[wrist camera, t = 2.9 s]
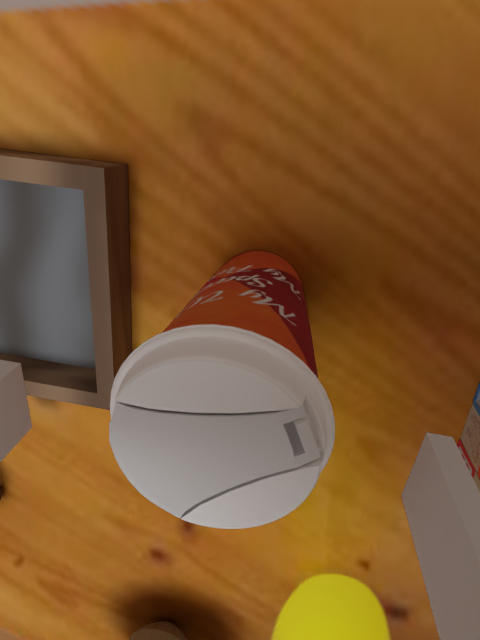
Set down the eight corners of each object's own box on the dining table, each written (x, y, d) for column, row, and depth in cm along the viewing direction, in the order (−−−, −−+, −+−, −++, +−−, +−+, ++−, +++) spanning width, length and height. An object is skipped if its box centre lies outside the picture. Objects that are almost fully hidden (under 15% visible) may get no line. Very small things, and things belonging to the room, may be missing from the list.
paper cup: (301, 214, 22) (296, 315, 10) (334, 331, 25) (364, 527, 13) (178, 254, 24) (44, 379, 12) (220, 358, 27) (148, 549, 15)
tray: (127, 164, 23) (103, 168, 20) (132, 385, 29) (115, 410, 27) (-115, 134, 24) (-169, 134, 21) (-58, 352, 31) (-93, 373, 28)
